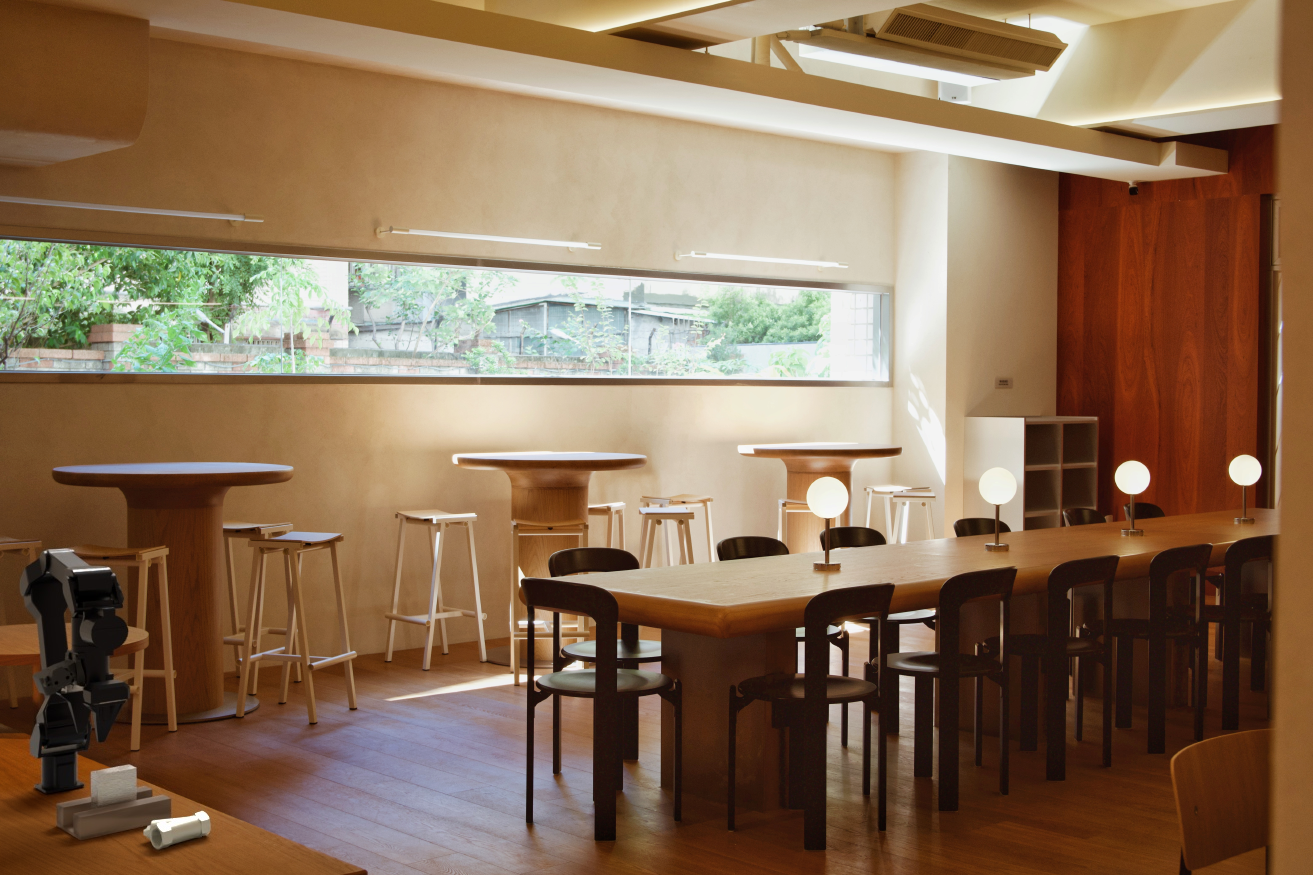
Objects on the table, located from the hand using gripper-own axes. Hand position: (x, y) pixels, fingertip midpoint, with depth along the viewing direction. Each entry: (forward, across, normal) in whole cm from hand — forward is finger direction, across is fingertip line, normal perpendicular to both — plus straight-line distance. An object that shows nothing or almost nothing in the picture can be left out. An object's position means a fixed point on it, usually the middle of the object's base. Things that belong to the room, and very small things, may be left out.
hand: (90, 737), depth 201 cm
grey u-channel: (+12, +10, 0) cm, 16 cm away
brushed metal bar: (+12, +10, 0) cm, 15 cm away
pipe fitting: (+12, +25, +3) cm, 28 cm away
